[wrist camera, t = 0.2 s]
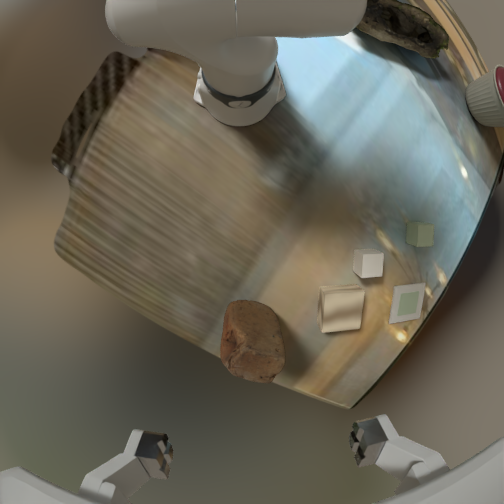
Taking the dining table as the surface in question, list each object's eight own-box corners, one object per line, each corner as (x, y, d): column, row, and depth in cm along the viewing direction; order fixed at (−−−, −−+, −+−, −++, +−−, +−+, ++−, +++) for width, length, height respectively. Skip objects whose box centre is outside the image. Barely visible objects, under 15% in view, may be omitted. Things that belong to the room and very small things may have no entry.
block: (278, 308, 59) (293, 359, 40) (264, 335, 61) (272, 392, 41) (232, 290, 58) (227, 338, 39) (220, 319, 60) (211, 373, 40)
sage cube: (406, 221, 56) (418, 224, 51) (422, 221, 56) (434, 224, 51) (405, 242, 57) (417, 247, 52) (421, 242, 57) (432, 246, 52)
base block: (319, 286, 59) (325, 294, 54) (356, 283, 59) (364, 291, 54) (316, 322, 61) (322, 332, 56) (352, 319, 61) (359, 328, 56)
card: (393, 286, 59) (395, 287, 58) (424, 282, 59) (426, 283, 59) (388, 322, 61) (389, 324, 61) (418, 317, 62) (419, 318, 61)
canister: (451, 104, 49) (504, 88, 29) (462, 67, 46) (506, 48, 26) (487, 146, 52) (538, 143, 31) (496, 107, 48) (540, 98, 28)
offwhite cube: (354, 249, 57) (363, 254, 52) (373, 248, 57) (383, 253, 52) (353, 271, 58) (361, 278, 53) (372, 269, 58) (382, 276, 53)
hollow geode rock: (420, 60, 51) (440, 24, 38) (437, 75, 44) (461, 35, 31) (332, 16, 48) (349, -25, 35) (338, 22, 41) (359, -27, 28)
